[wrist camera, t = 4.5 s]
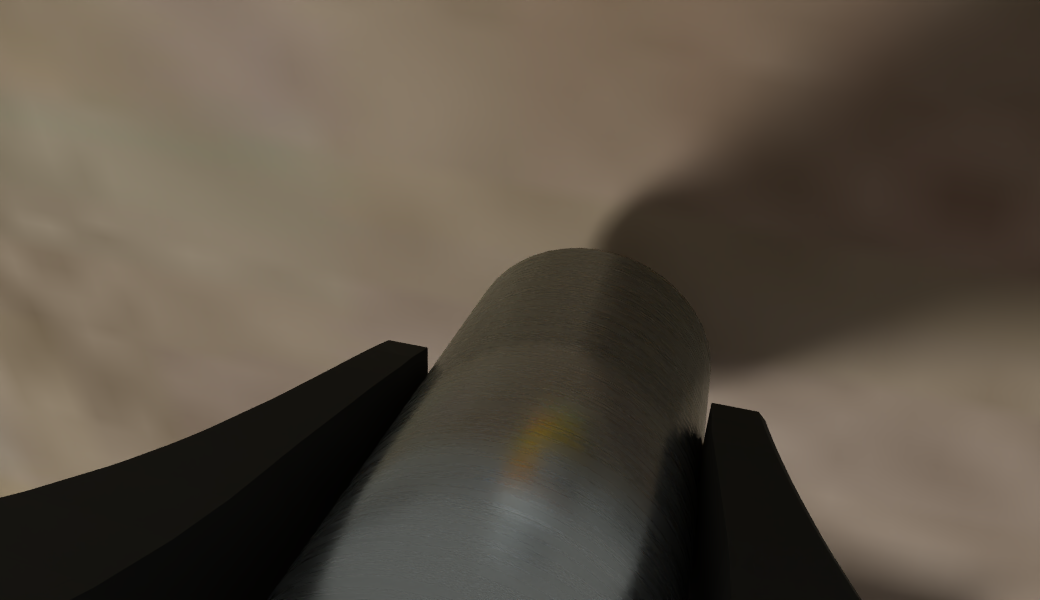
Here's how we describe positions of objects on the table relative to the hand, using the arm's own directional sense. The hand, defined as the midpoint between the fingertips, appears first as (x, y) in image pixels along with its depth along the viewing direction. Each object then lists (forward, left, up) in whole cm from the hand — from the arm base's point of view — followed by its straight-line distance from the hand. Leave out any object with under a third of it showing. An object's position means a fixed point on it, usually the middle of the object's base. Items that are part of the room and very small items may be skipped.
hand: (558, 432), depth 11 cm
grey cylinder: (0, 0, -2) cm, 2 cm away
